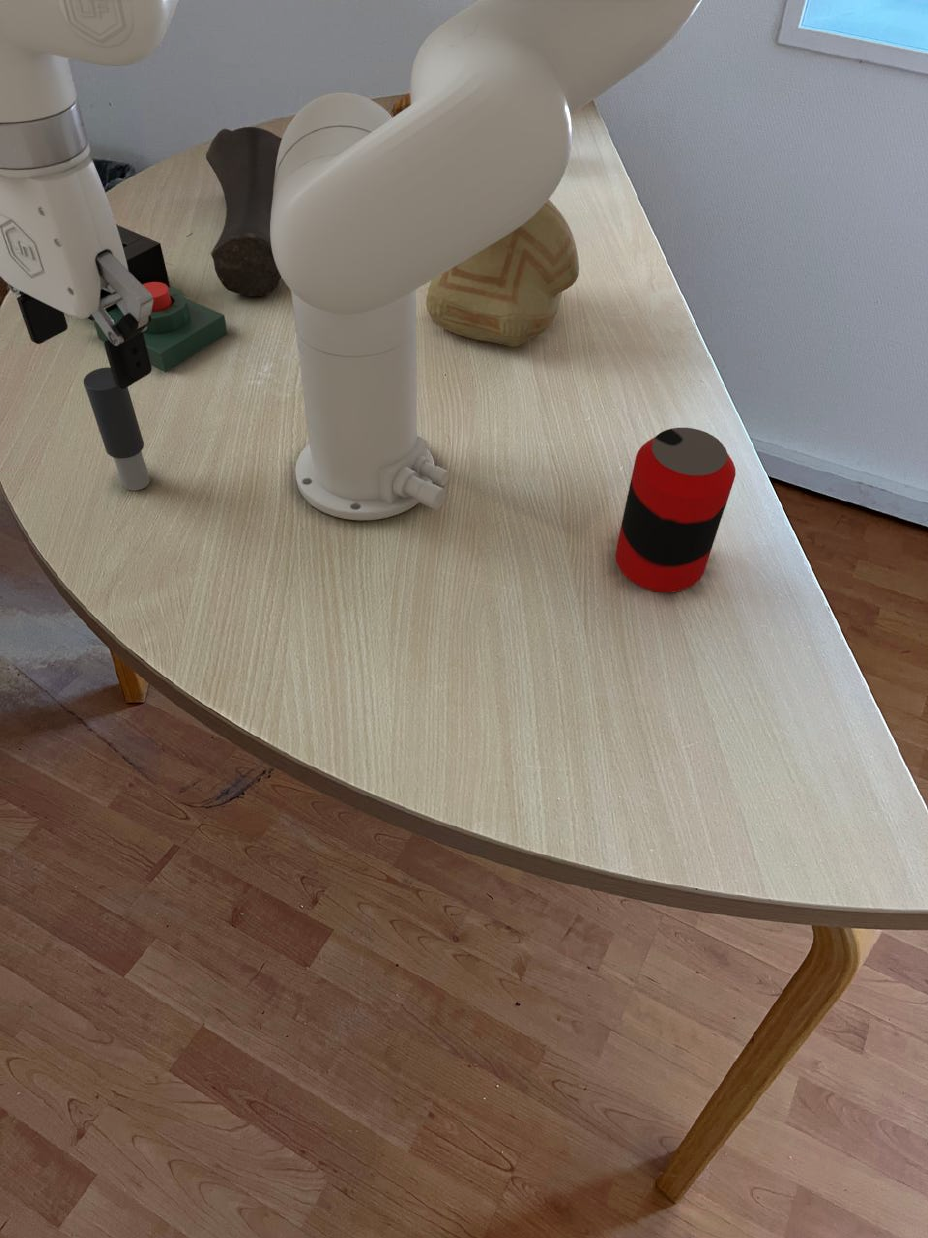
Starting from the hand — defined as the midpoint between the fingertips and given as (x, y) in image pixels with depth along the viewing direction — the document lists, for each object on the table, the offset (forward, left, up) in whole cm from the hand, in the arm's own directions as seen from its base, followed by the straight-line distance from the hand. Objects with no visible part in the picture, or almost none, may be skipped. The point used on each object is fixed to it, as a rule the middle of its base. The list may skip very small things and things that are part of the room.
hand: (91, 357), depth 74 cm
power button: (+15, -18, -9) cm, 26 cm away
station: (+15, -18, -13) cm, 27 cm away
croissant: (+27, -84, -13) cm, 89 cm away
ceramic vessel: (-11, -43, -13) cm, 47 cm away
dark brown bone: (+22, -40, -13) cm, 48 cm away
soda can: (-43, -19, -13) cm, 49 cm away
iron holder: (+25, -20, -13) cm, 35 cm away
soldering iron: (0, 0, -13) cm, 13 cm away
